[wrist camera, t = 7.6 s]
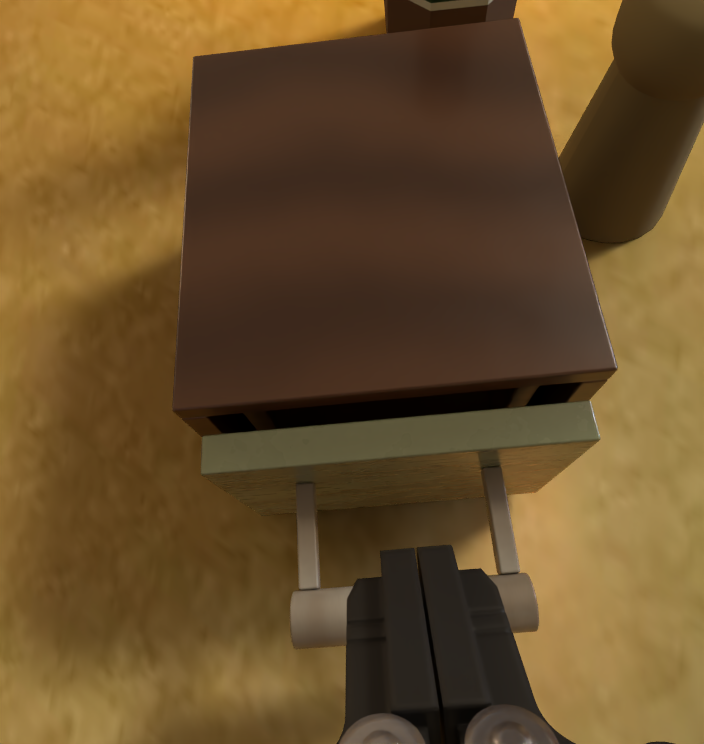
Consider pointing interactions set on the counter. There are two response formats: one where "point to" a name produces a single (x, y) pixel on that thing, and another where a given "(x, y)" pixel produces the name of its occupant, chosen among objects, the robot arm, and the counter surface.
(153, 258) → the counter surface
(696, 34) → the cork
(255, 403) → the cabinet
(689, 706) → the counter surface
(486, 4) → the beer bottle
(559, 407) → the drawer
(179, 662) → the counter surface
